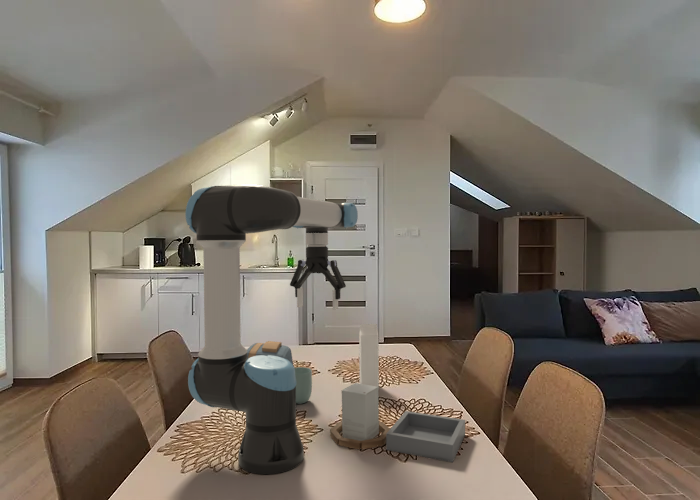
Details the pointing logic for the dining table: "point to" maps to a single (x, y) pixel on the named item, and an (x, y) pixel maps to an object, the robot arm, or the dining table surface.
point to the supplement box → (360, 412)
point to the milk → (369, 355)
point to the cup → (303, 384)
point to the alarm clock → (270, 350)
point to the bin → (426, 436)
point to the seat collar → (356, 443)
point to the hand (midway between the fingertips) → (317, 308)
